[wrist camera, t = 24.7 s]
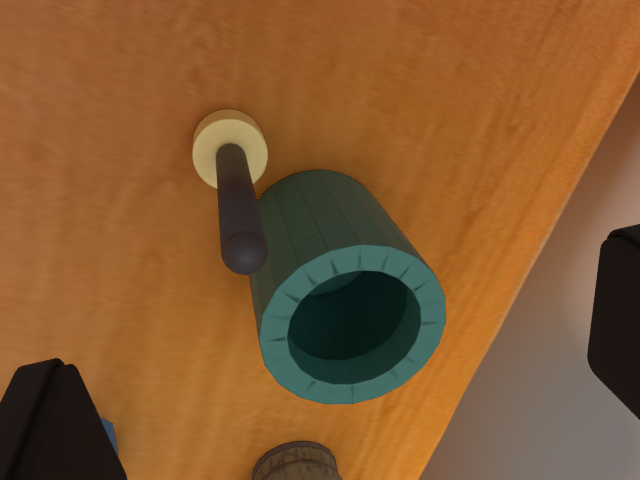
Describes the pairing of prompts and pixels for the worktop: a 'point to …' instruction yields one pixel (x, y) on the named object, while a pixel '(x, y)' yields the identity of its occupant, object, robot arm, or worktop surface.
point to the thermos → (297, 463)
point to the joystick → (234, 183)
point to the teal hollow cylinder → (341, 292)
